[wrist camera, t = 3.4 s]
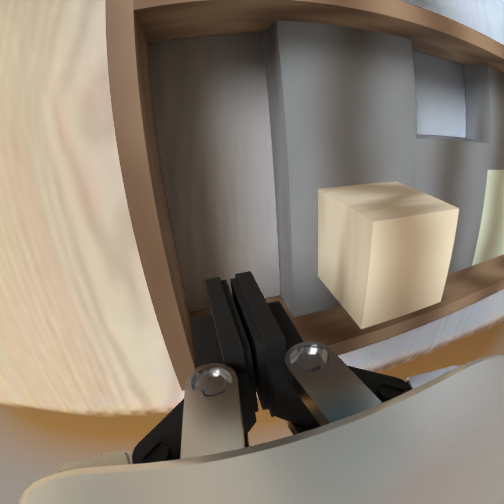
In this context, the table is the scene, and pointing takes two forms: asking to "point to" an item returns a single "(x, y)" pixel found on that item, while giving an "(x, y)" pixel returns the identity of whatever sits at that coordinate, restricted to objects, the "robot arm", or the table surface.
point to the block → (384, 249)
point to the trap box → (322, 145)
